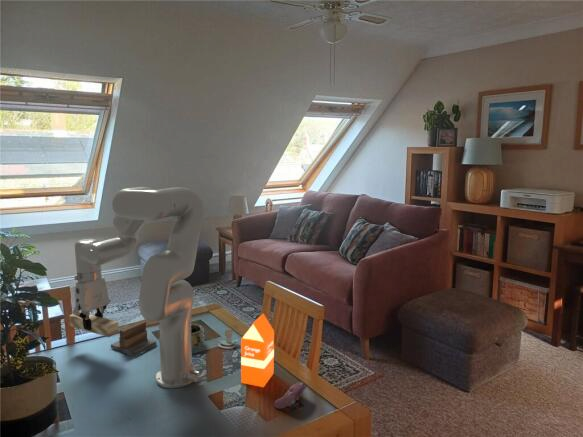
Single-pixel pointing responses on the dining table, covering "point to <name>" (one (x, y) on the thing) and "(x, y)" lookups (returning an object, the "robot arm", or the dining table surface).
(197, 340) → the vessel
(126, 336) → the ridge stand
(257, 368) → the orange juice
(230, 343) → the pacifier
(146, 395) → the dining table surface
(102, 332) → the pine batten
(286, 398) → the purple oblong lump
